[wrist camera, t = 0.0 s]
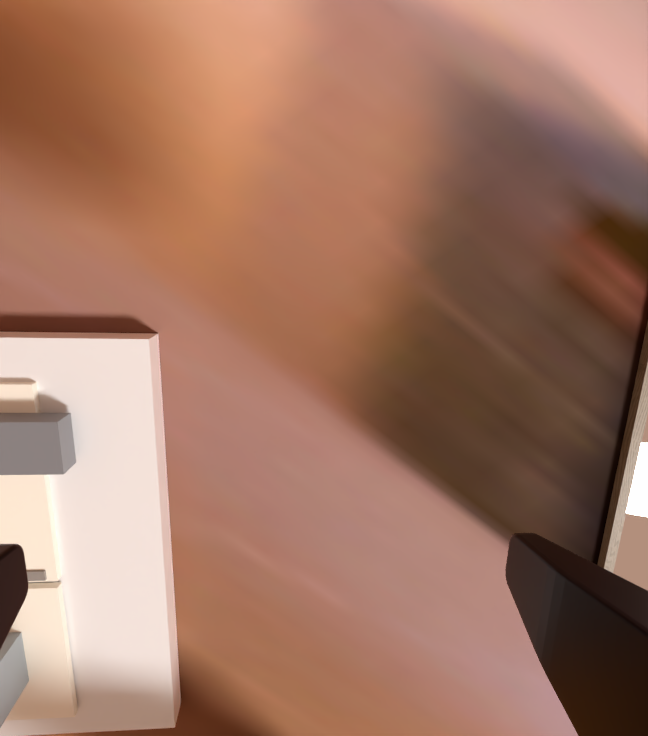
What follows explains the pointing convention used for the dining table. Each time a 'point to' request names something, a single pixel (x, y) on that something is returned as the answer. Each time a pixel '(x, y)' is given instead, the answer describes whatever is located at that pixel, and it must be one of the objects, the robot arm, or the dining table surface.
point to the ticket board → (94, 516)
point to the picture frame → (631, 491)
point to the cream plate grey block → (38, 659)
